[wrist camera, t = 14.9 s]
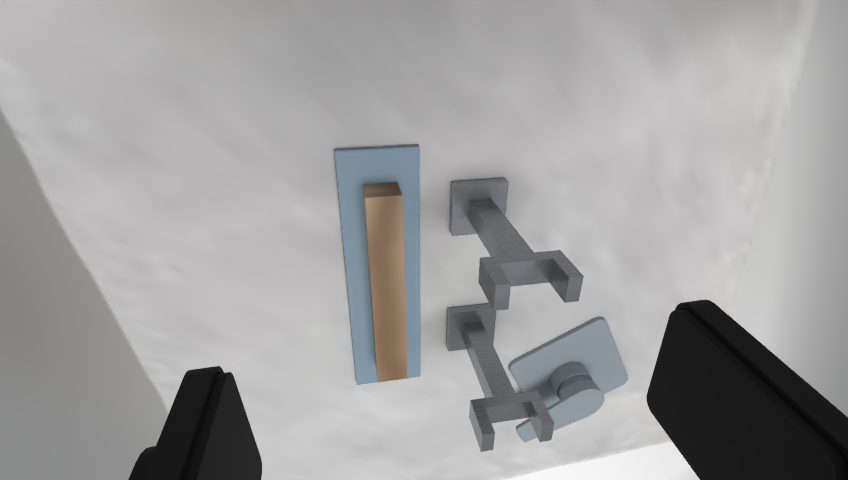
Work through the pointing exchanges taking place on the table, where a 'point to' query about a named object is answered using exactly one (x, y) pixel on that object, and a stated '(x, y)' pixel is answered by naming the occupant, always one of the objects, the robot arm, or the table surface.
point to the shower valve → (570, 373)
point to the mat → (351, 176)
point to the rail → (386, 277)
